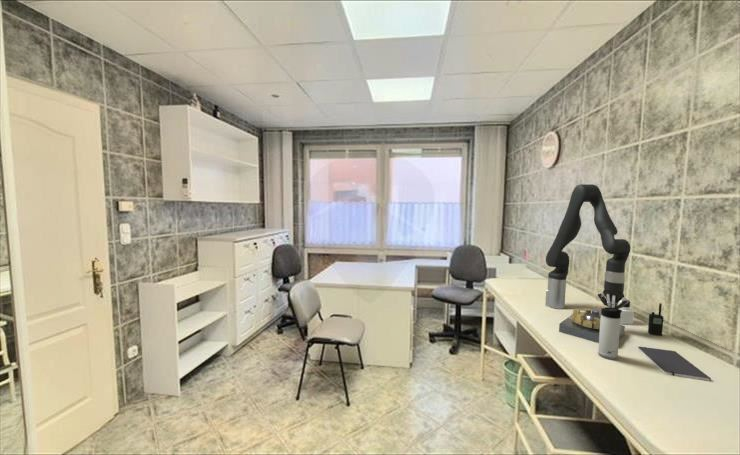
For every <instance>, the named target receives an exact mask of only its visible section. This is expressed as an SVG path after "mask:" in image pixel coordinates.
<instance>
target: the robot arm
mask: <svg viewBox="0 0 740 455" xmlns="http://www.w3.org/2000/svg"><path fill="white" fill-rule="evenodd" d="M603 197H604V196H603V195H602V192H601V190H600V187H598V186H597V185H596V184H589V183H587V184H585V183H584V184H581V183H580V184H578V185H576V186H575V187H574V188H573V189H572V192H571V194H570V199H569V202H568V206H567V209H566V211H565V213H564V217H563V219H562V221H561V224H560V226H559V229H558V230H557V234H556V236H555V237H554V240H553V242H552V245H551V246H550V248H549V249H548V251H547V254H546V256H545V263H546V265H547V266H548V267H550V268H554V269H553V270H552V271H549V272H548V274H547V289H546V290H545V303H544V305H545V306H546V307H548V308H551V309H552V308H553V309H559V310H563V309H565V307H566V293H567V292H566V290H567V289H566V288H567V287H566V286H567V276H568V275H569V268H570V256H569V253H567V252H566V251H563V250H564V249H565V248H566V246H568V245H569V244H570V243H571V242H572V241H573V240H574V239H575V238H576V237H577V236H578V235H579V233H580V230H581V227H582V219H581V213H580V212H581V208H582V206H583V204H584V203H590V205H591V206H592V207H593V212H594V214H593V215H594V216H593V221H594V222H593V223H594V225H595V227H596V229H597V231H598V233H599V235H600V242H601V245H602V248H603V250H604V251H605V252H606V253H608V254H610V255H612V257H610V258H608V259H607V260H606V264H605V265H606V266H605V272H604V279H603V280H604V281H603V282H604V283H603V291H602V292H601V293H597V297H598V299H600V300H599V301H601V302H602V305H603V306H604V307H608V308H617V309H619V308H622V307H623V306H625V305H626V304H627V303H629V301H630V300H629V299H627V298H625V294H624V291H625V281H626V277H625V276H626V275H625V273H626V272H625V271H626V270H625V269H626V262H627V260H628V258H629V257H630V256H629V255H630V253H631V244H630V242H629V241H628V240H626V239H622V238H618V239H617V238H615V236H616V235H617V234H618V228H617V226H616V225H615V223H614V221H613V219H612V218H611V216H610V213H609V211H608V208H607V207H606V203H605V200H604V198H603ZM621 299H622V301H621V302H622V303H620V304H619V305H618V303H619V301H620V300H621Z"/></svg>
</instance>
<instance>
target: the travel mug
mask: <svg viewBox="0 0 740 455" xmlns="http://www.w3.org/2000/svg"><path fill="white" fill-rule="evenodd" d="M621 312H622V310H620V309H617V308H608V307H607V306H605V307H604V308H602V309H601V319H600V333H599V343H598V348H597V349H598V351H597V354H598V355H599V356H600V357H601V358H604V359H605V360H611V361H612V360H613V361H614V360H615V361H616V360H618V359H619V344H620V340H619V333H620V325H621V324H620V319H621V316H620V315H621Z"/></svg>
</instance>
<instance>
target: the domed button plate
mask: <svg viewBox="0 0 740 455" xmlns="http://www.w3.org/2000/svg"><path fill="white" fill-rule="evenodd" d="M584 315H585V320H589V321H594V318H600V319H601V316H600V315H597V314H593V313H592V312H591V313H584ZM625 328H626V327H625V325H624V324H620V333H619V341H620V340H621V339H622V337H623V336H624V335H625V332H626V331H625ZM558 333H562V334H566V335H569V336H572V337H577V338H580V339H583V340H586V341H590V342H594V343H597V344H599V333H600V329H593V328H589V327H585V326H582V325H579V324H577V323H575V322H573V320H572V314H571V315H570V316H568V317H566V319H564V320H562V321H561V322H560V323H559V324H558Z"/></svg>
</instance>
